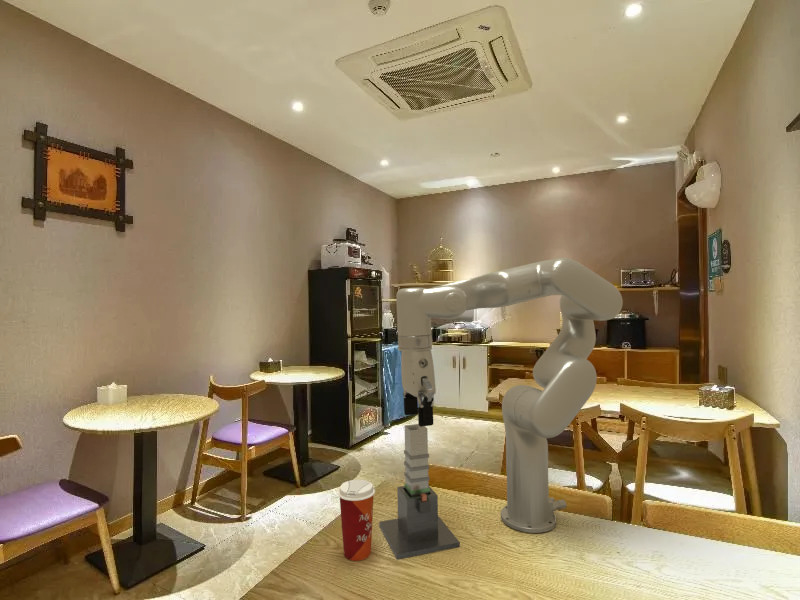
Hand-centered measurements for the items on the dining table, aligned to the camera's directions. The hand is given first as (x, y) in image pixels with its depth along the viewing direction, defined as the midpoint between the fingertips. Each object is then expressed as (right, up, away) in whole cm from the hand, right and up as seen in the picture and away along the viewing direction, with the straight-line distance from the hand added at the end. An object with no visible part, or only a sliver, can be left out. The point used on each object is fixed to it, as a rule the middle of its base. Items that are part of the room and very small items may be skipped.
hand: (418, 419), depth 98 cm
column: (0, -20, 0) cm, 20 cm away
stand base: (0, -26, 0) cm, 26 cm away
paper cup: (-13, -26, -6) cm, 30 cm away
